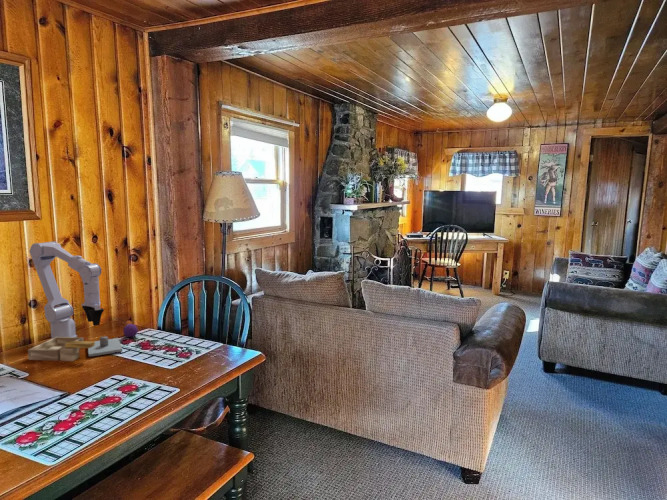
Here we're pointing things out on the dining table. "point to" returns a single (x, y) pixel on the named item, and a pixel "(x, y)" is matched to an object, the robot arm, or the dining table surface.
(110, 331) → the dining table surface
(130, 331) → the kendama
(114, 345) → the lid
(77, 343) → the yellow rectangular block
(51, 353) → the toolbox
